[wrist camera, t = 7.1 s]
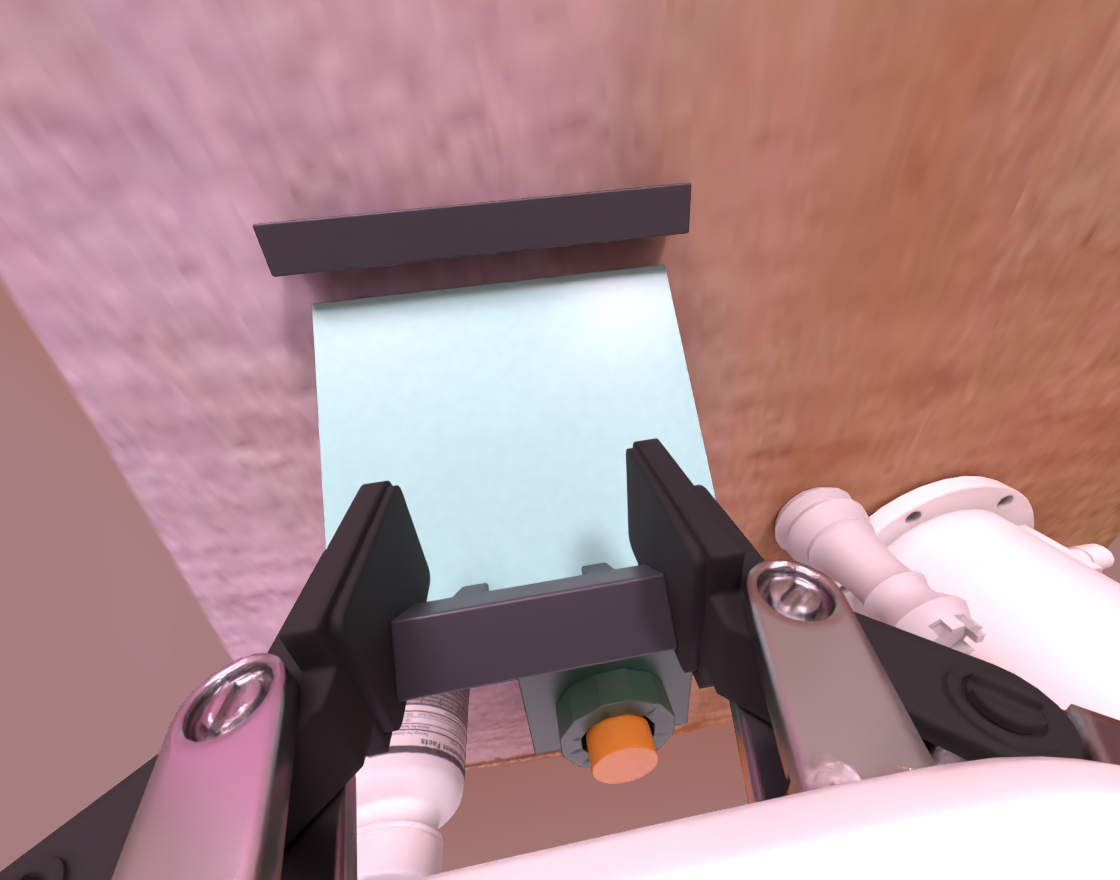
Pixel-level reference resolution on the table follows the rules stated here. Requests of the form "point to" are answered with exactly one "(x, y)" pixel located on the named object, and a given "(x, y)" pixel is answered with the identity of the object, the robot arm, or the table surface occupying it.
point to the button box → (605, 701)
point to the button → (621, 749)
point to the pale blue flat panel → (511, 463)
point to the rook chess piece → (870, 568)
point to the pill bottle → (412, 790)
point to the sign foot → (473, 229)
